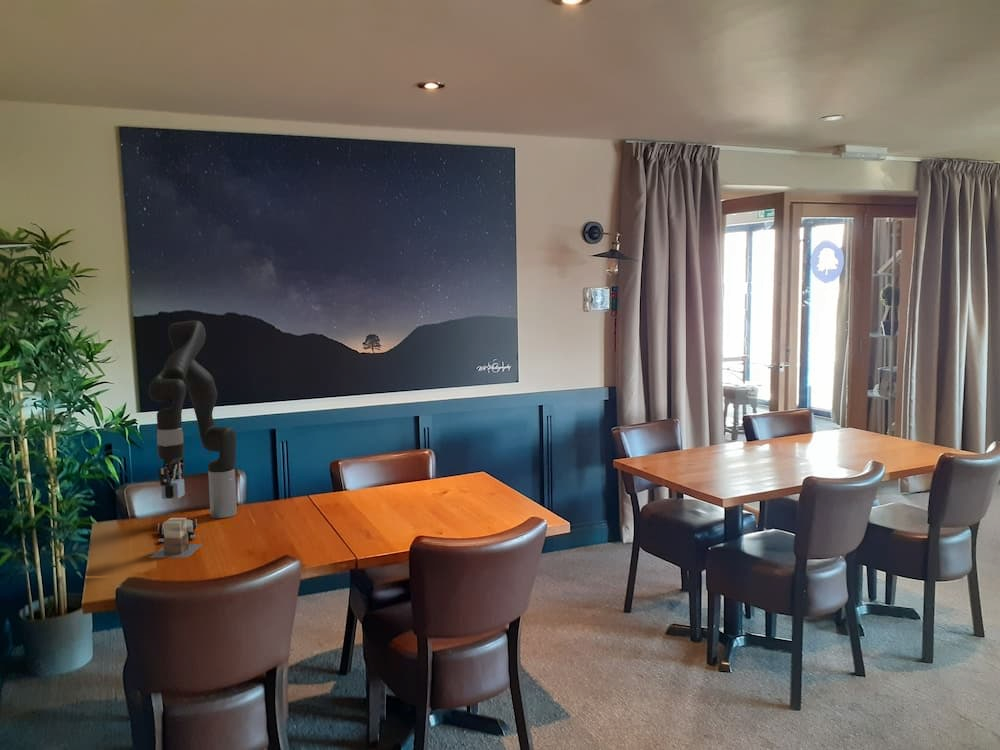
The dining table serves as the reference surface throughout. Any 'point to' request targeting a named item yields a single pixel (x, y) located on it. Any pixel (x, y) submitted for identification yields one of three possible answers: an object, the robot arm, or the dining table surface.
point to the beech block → (175, 528)
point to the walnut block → (176, 545)
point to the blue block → (175, 489)
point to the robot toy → (190, 528)
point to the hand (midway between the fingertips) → (173, 495)
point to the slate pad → (185, 554)
